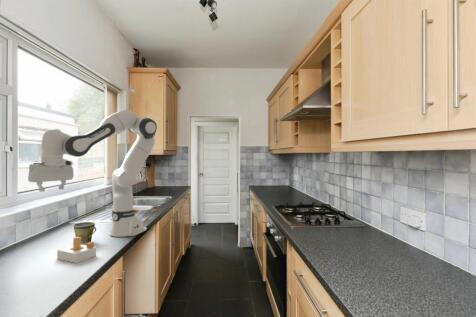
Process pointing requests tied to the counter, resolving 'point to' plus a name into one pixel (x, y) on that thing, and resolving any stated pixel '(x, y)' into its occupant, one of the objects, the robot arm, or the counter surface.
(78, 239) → the pin
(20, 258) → the counter surface
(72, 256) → the housing
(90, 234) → the ceramic cup
